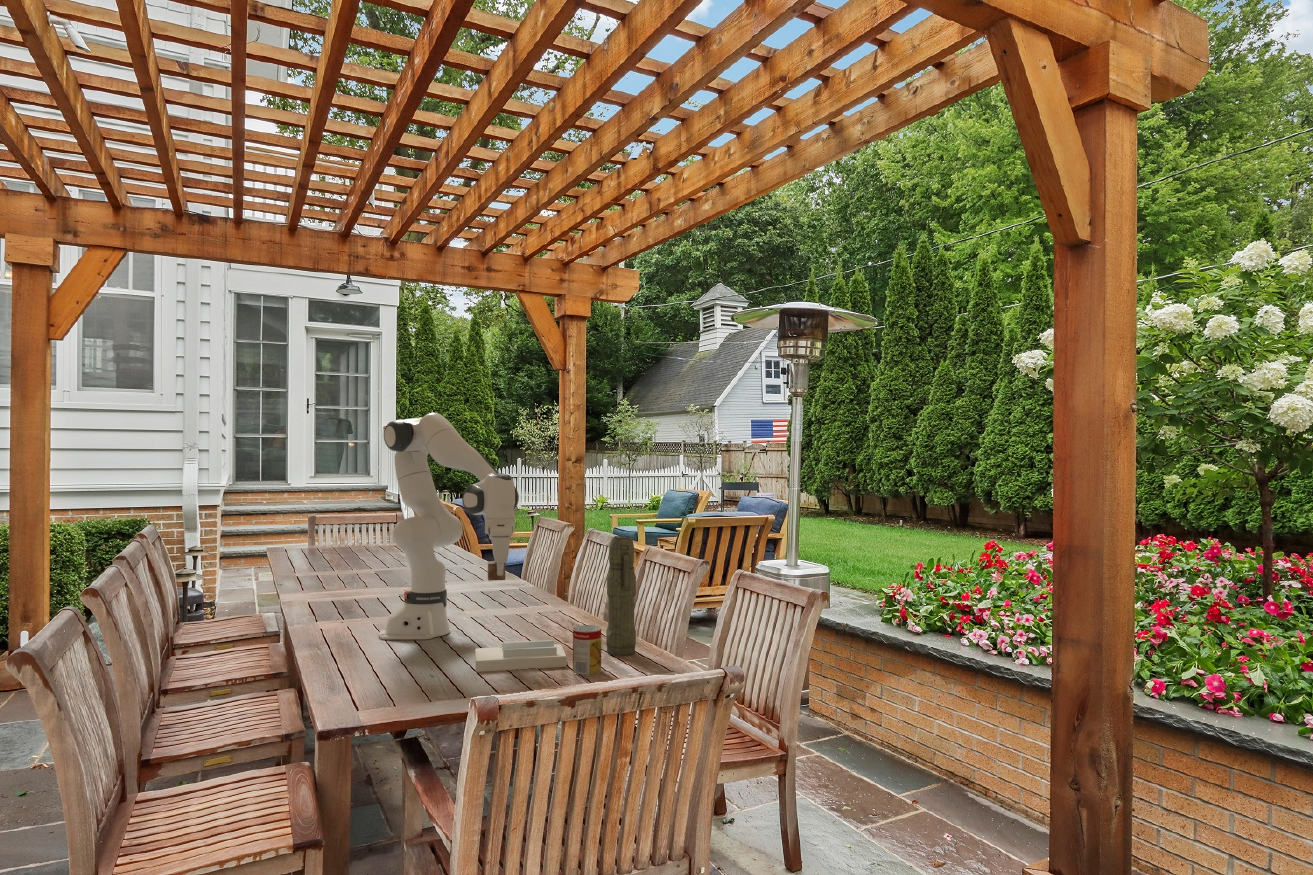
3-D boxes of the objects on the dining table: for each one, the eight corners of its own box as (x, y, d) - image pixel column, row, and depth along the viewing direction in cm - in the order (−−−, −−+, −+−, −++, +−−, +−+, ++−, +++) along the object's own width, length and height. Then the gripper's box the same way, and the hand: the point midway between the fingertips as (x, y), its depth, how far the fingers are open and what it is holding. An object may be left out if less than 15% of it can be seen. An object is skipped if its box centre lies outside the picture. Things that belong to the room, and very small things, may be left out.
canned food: (604, 668, 228) (604, 625, 229) (596, 676, 221) (596, 632, 221) (577, 666, 230) (578, 624, 230) (568, 674, 223) (569, 630, 223)
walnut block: (488, 580, 241) (488, 563, 241) (487, 577, 245) (487, 561, 246) (505, 579, 242) (505, 563, 242) (504, 577, 247) (504, 560, 247)
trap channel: (475, 671, 225) (475, 653, 225) (475, 658, 238) (475, 641, 238) (566, 666, 230) (566, 648, 230) (560, 654, 244) (560, 637, 244)
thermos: (615, 658, 239) (616, 539, 239) (600, 649, 249) (600, 535, 250) (642, 655, 243) (643, 538, 243) (626, 646, 253) (627, 534, 254)
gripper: (488, 524, 253) (488, 568, 253) (490, 531, 233) (489, 579, 233) (508, 523, 255) (508, 568, 255) (512, 530, 235) (512, 578, 235)
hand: (499, 573), depth 244 cm, fingers closed on walnut block, 5 cm apart
